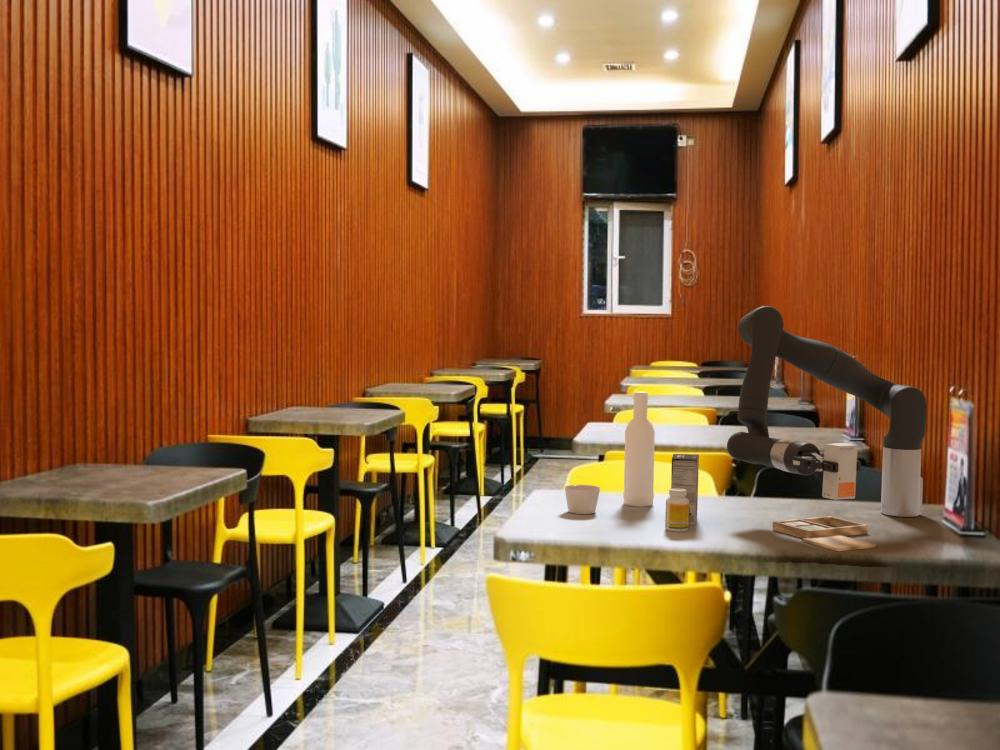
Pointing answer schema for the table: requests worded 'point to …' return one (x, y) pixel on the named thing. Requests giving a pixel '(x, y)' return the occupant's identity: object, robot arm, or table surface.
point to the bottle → (639, 456)
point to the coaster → (838, 542)
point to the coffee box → (687, 480)
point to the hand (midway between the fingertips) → (848, 467)
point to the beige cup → (582, 498)
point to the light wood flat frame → (819, 527)
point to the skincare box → (840, 471)
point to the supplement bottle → (677, 510)
